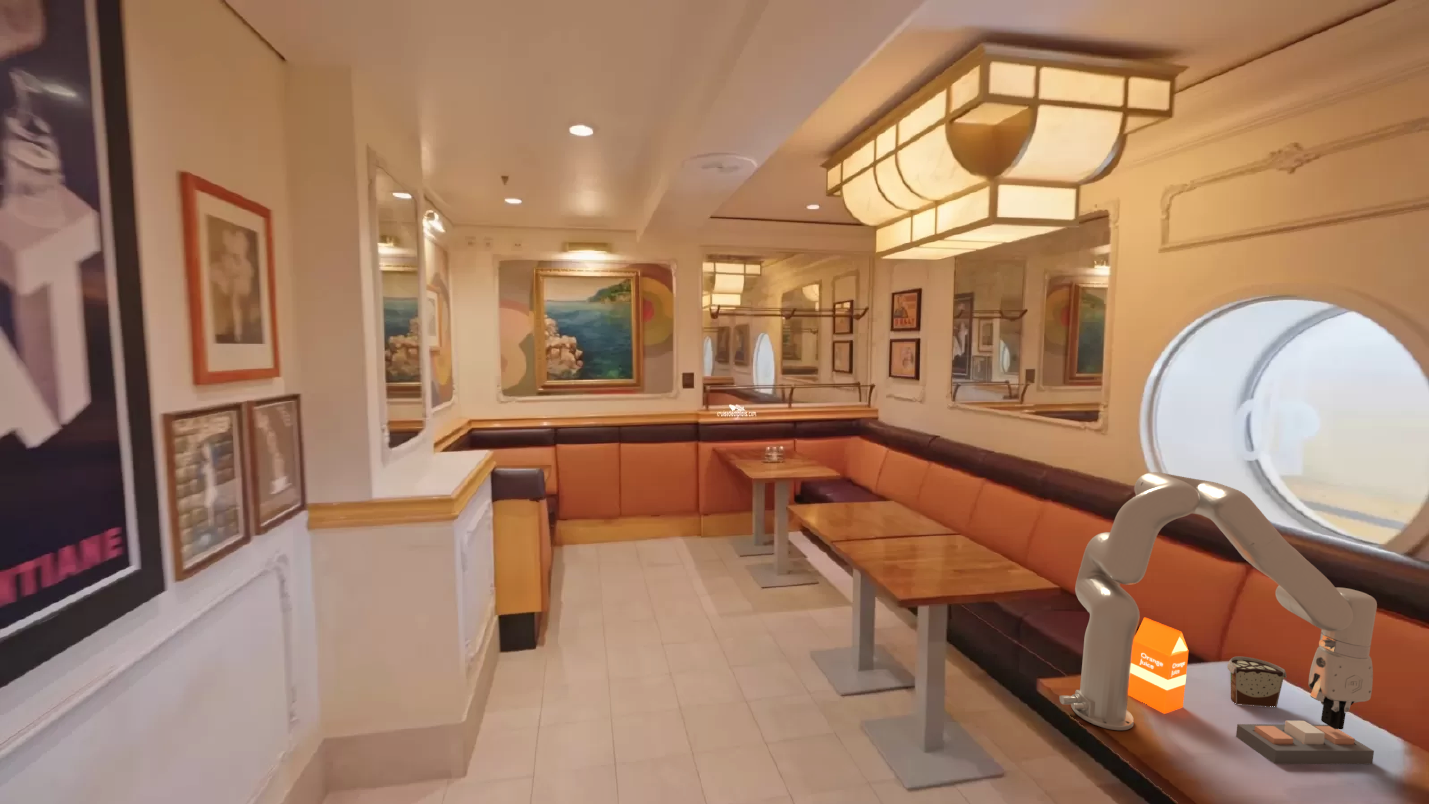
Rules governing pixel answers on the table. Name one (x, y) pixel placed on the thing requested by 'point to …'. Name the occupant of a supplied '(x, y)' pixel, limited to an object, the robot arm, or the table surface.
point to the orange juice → (1158, 666)
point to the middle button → (1304, 732)
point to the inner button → (1273, 735)
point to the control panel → (1304, 749)
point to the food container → (1255, 681)
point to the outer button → (1336, 736)
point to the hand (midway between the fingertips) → (1331, 725)
